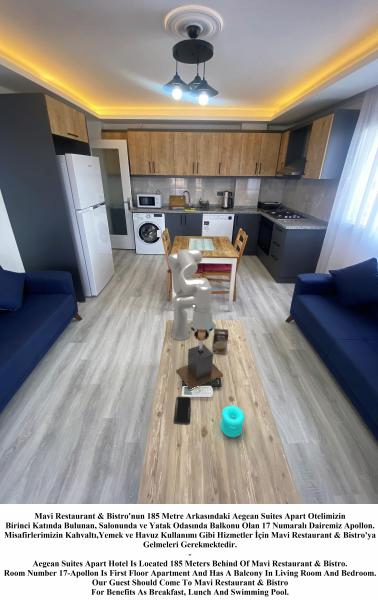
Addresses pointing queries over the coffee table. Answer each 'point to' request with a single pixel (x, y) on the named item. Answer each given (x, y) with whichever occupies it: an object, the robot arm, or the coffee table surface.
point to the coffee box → (220, 341)
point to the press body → (199, 368)
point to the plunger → (201, 337)
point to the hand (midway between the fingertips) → (201, 337)
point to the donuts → (232, 421)
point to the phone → (182, 410)
